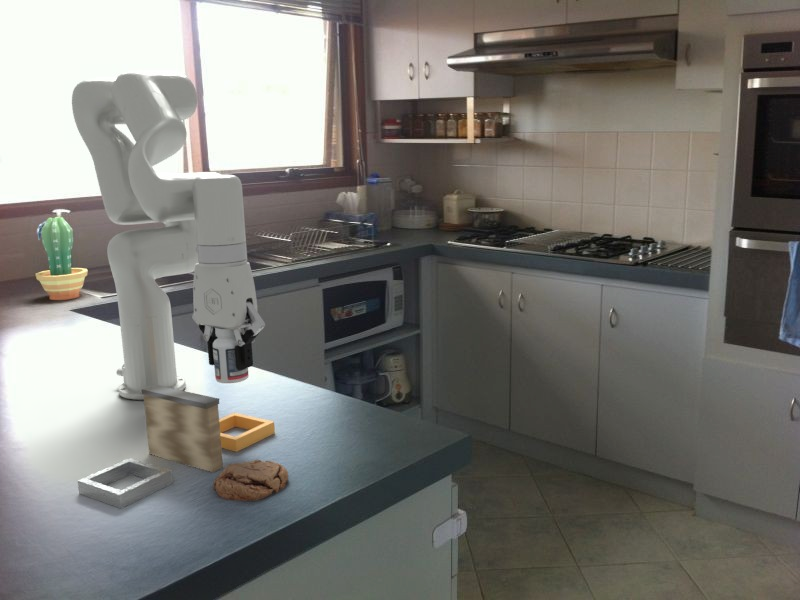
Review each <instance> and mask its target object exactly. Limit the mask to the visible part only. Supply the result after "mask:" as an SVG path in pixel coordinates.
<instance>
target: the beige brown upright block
mask: <svg viewBox="0 0 800 600" xmlns="http://www.w3.org/2000/svg"><path fill="white" fill-rule="evenodd" d="M141 391H142V394H143V395H144V400H143V402H144V403H143V404H144V413H145V423H146V433H147V443H148V454H149V455H150V454H152V455H151V456H154V455H155V456H154V457H157V456H158V457H159V458H161V457H162V459H164V458H165V459H164V460H168V461H171V462H175V461H176V462H175V463H178V462H179V463H178V464H181V463H182V464H183V465H185V464H186V465H185V466H188V465H189V466H188V467H192V466H193V467H192V468H195V467H196V469H199V468H200V469H199V470H202V469H204V470H203V471H206V470H207V471H206V472H209V471H210V473H213V472H214V473H215V472H218V471H219V470H221V469H224V465H223V453H222V452H223V451H222V448H221V437H220V424H219V419H220V413H219V411H220V410H219V405H220V398H217V397H213V396H210V395H209V396H208V395H204V394H199V393H195V392H190V391H187V390H186V391H185V390H177V389H173V388H168V387H164V386H159V385H152V386H149V387H146V388H143V389H141Z"/></svg>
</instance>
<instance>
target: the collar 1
mask: <svg viewBox="0 0 800 600" xmlns="http://www.w3.org/2000/svg"><path fill="white" fill-rule="evenodd" d="M172 472H173V471H172V469H169V468H167V467H166V468H165V467H163V466H159V465H155V464H152V463H148V462H145V461H143V460H138V459H136V458H132V457H129V458H126V459H124V460H122V461H119V462H117V463H114V464H112V465H110V466H108V467H106V468H104V469H100V470H99V471H96V472H94V473H91V474H90V475H87V476H85V477H82V478H80V479H78V480H77V486H78V494H79V495H81V496H85V497H87V498H90V499H93V500H96V501H99V502H101V503H104V504H107V505H110V506H113V507H115V508H118V509H123V508H125V507H127V506H130V505H131V504H133V503H135V502H137V501H139V500H141V499H143V498H146V497H148V496H149V495H151V494H154V493H155V492H157V491H160V490H162V489H164V488H165V487H166V488H167V487H168V486H170V485H172V484H173V483H174V481H173V473H172ZM131 474H132V475H131ZM129 475H131V476H135V475H136V476H135V477H138V476H139V478H142V480H140V481H137V482H135V483H134V484H131V485H129V486H127V487H125V488H122V489H118V488H116V487H112V486H109V485H110V484H112V483H114V482H116V481H118V480H121V479H123V478H125V477H127V476H129ZM144 478H145V479H144Z"/></svg>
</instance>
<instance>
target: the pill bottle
mask: <svg viewBox="0 0 800 600" xmlns="http://www.w3.org/2000/svg"><path fill="white" fill-rule="evenodd" d="M214 328H215V334H216V336H217V337H218V339H216V340H215V341H214V342H213V356H214V365H213V367H214V376H215V377H214V379H215V381H216V382H217V383H220V384H237V383H241V382H244V381H246V380H248V378H249V375H250V374H249V367H248V368H246V369H243V370H237V368H236V357H235V346H237V345H238V343H237V340H236V337H235V334H234V331H233V329H226V328H219V327H214Z"/></svg>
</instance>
